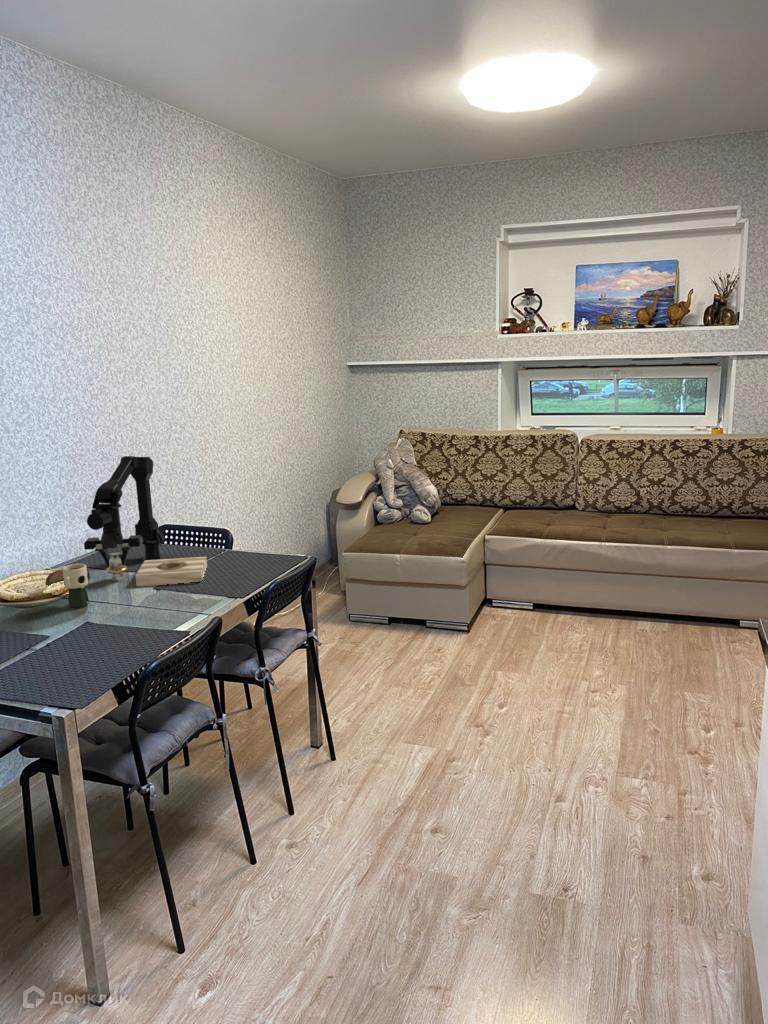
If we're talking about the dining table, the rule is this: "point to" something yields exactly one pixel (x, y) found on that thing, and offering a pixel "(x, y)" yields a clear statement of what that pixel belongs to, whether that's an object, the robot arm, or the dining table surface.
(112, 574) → the silver and gold knob
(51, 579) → the tin
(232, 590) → the dining table surface
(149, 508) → the robot arm
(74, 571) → the character mug
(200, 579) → the jig
